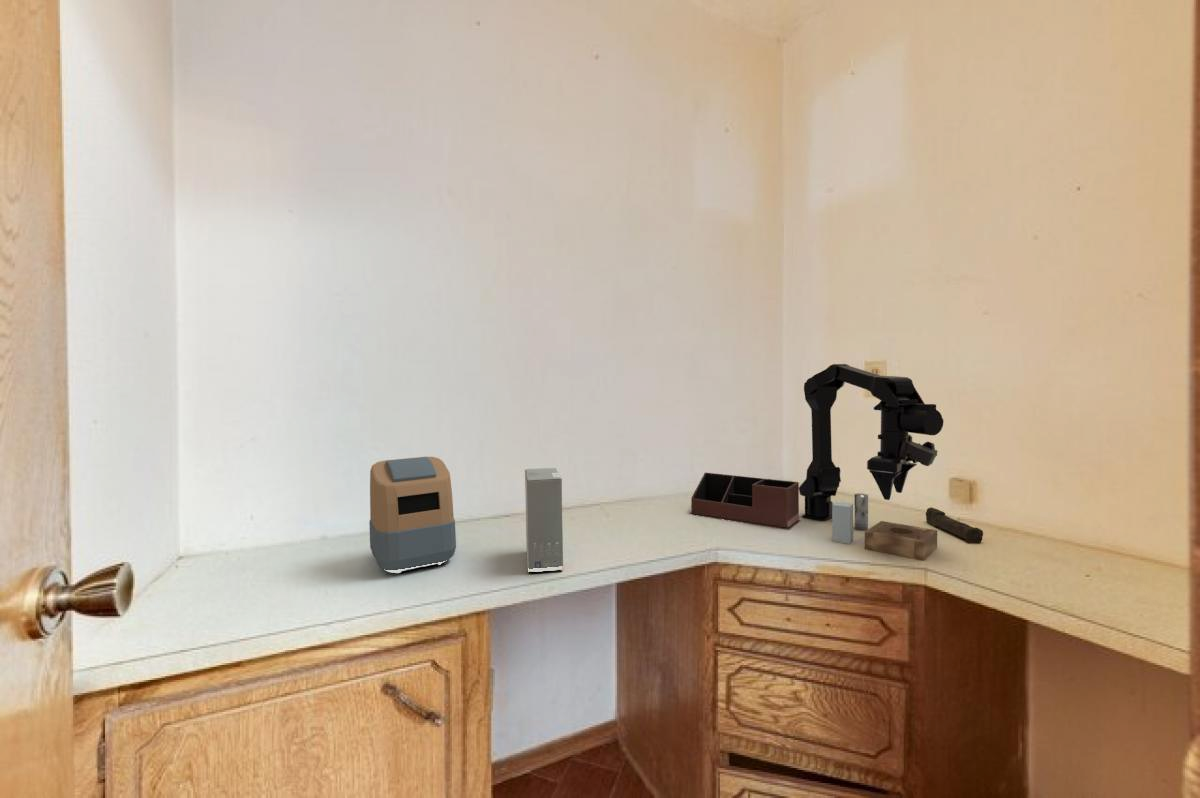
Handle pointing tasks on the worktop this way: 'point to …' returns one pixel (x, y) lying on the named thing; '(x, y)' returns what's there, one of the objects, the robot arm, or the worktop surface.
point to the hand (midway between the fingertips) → (893, 496)
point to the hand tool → (953, 526)
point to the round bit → (861, 512)
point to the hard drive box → (543, 518)
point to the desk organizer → (747, 500)
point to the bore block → (901, 540)
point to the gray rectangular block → (842, 522)
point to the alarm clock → (411, 513)
